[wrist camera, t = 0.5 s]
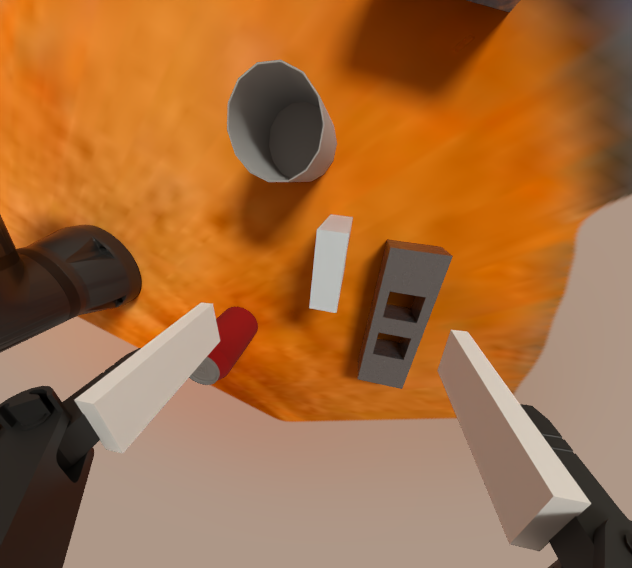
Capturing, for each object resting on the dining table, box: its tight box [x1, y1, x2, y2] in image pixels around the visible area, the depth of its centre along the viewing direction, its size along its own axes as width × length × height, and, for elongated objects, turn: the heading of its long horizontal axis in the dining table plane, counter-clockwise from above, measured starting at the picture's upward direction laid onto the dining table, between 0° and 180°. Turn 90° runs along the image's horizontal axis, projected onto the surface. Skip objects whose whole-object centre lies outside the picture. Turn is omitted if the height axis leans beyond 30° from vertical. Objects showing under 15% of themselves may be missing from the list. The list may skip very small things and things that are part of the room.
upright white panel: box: [309, 214, 353, 313], centre depth 27 cm, size 9×3×10 cm, turn 174°
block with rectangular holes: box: [358, 240, 452, 389], centre depth 33 cm, size 7×22×4 cm, turn 174°
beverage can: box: [189, 307, 258, 385], centre depth 35 cm, size 7×7×12 cm
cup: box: [227, 60, 337, 182], centre depth 23 cm, size 8×8×10 cm
